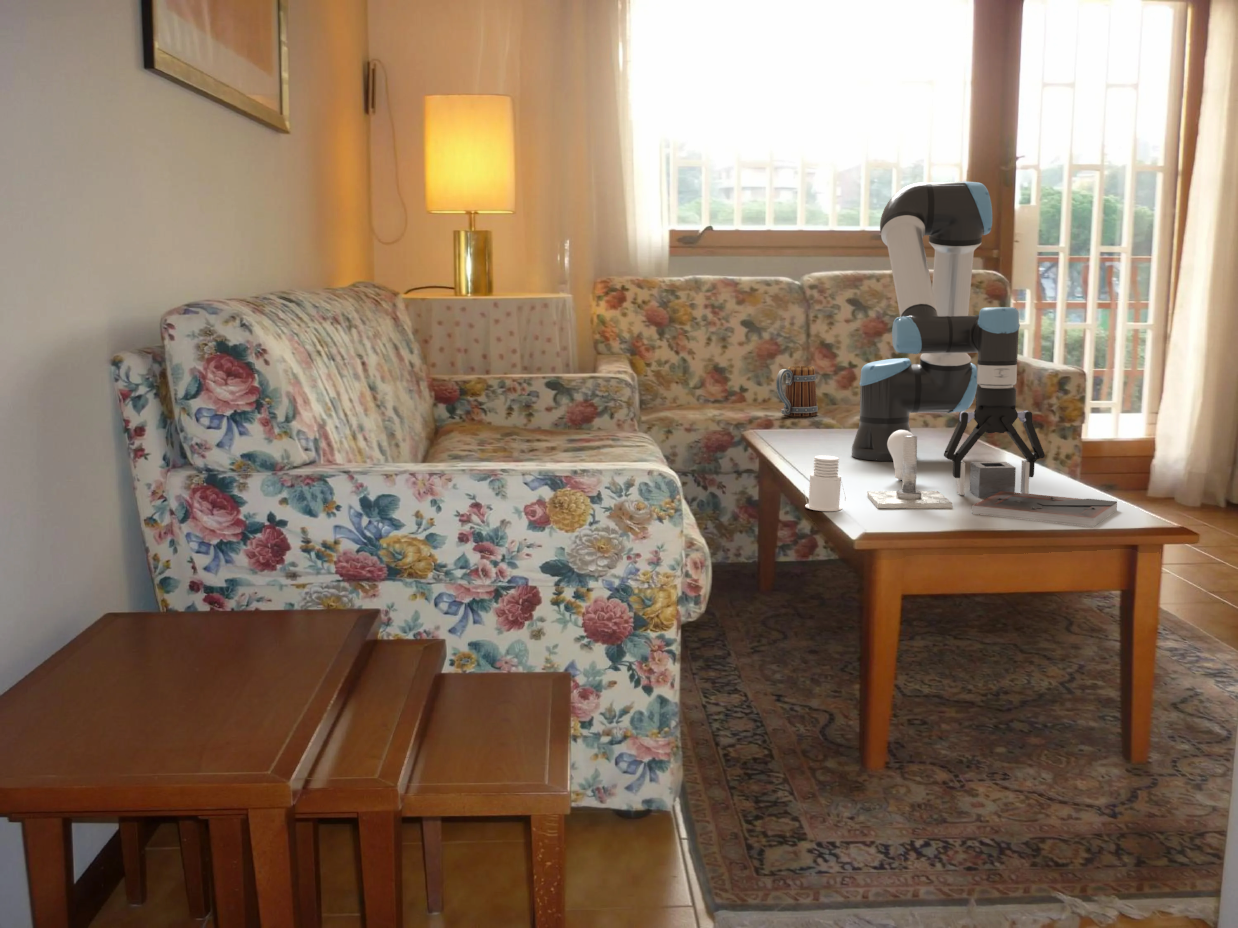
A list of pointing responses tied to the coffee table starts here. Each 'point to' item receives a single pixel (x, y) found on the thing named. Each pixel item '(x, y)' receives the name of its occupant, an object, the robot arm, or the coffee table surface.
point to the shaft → (909, 486)
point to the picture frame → (1046, 508)
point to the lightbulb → (897, 450)
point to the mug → (798, 391)
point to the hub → (991, 478)
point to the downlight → (825, 485)
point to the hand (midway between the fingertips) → (992, 493)
